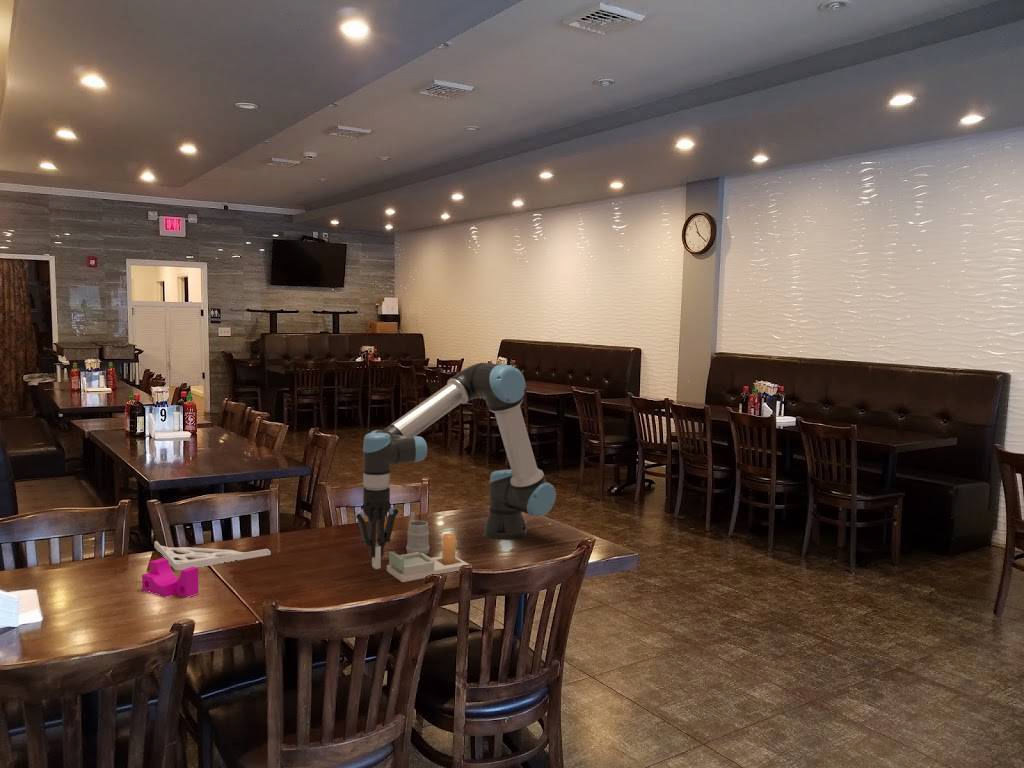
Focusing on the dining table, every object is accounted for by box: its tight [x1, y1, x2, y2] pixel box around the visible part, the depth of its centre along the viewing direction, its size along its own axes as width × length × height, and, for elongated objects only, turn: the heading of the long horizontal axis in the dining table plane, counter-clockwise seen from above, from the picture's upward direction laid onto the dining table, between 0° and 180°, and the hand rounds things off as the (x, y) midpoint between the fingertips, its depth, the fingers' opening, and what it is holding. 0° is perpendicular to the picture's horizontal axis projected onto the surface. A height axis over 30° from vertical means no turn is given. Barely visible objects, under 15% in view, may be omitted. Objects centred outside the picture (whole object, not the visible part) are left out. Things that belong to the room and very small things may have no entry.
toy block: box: [141, 557, 199, 598], centre depth 204 cm, size 15×6×8 cm, turn 61°
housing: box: [386, 552, 470, 583], centre depth 226 cm, size 22×11×4 cm, turn 123°
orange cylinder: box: [441, 533, 457, 565], centre depth 230 cm, size 4×4×10 cm
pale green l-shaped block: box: [388, 551, 426, 573], centre depth 223 cm, size 10×8×4 cm
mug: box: [405, 511, 431, 556], centre depth 245 cm, size 8×12×12 cm, turn 27°
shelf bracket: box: [153, 540, 271, 570], centre depth 241 cm, size 28×28×3 cm
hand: (376, 567), depth 217 cm, fingers closed
